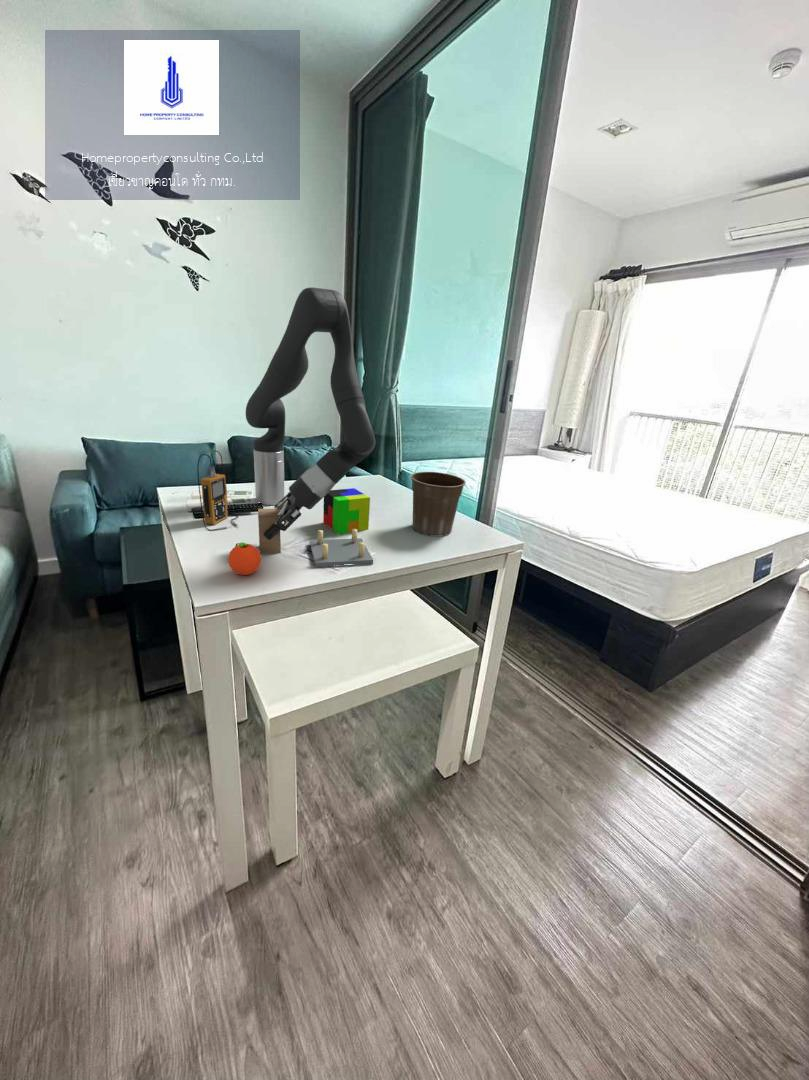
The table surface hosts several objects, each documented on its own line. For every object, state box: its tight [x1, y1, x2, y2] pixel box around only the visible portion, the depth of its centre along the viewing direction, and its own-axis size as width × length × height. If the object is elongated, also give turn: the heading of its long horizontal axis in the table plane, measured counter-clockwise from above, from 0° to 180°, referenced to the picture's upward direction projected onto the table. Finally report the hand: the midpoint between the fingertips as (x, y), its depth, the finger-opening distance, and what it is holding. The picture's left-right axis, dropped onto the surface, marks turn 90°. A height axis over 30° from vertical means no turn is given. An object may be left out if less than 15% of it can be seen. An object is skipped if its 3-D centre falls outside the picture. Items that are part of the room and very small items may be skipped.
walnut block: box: [257, 508, 282, 555], centre depth 109 cm, size 5×5×10 cm
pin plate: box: [308, 529, 374, 568], centre depth 111 cm, size 14×14×5 cm
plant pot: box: [410, 471, 467, 536], centre depth 131 cm, size 16×16×16 cm
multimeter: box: [196, 450, 240, 531], centre depth 121 cm, size 15×10×20 cm
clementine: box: [227, 542, 262, 576], centre depth 97 cm, size 8×7×7 cm
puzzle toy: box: [322, 487, 371, 535], centre depth 129 cm, size 10×10×10 cm
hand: (265, 530), depth 109 cm, fingers open, 8 cm apart
